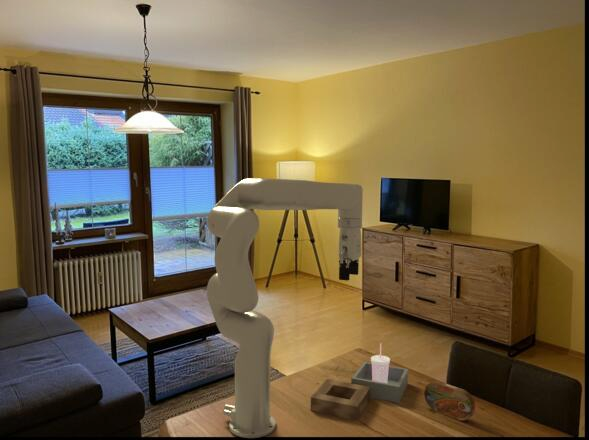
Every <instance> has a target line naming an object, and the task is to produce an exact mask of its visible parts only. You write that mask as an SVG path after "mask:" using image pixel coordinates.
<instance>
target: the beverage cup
mask: <svg viewBox="0 0 589 440" xmlns="http://www.w3.org/2000/svg"><path fill="white" fill-rule="evenodd" d="M382 346H383V345H382V342H380V343H379V354H377V355H376V354H375V355H372V356H371V357H370V363H372V381H377V382H382V383H387V381H388V370H389V366H390V363H391V358H390V357H389V356H386V355H382Z"/></svg>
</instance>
